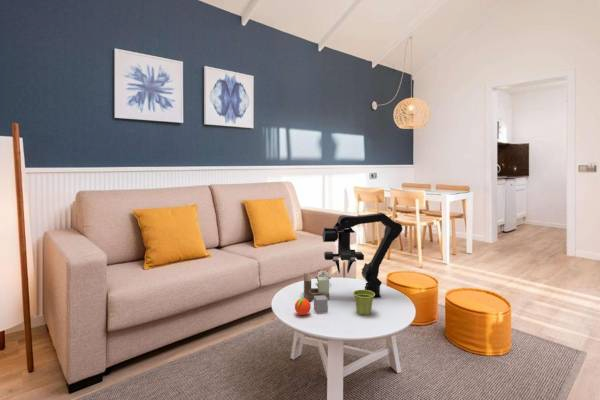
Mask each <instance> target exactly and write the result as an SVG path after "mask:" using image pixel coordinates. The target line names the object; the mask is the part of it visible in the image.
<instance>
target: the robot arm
mask: <svg viewBox="0 0 600 400" xmlns="http://www.w3.org/2000/svg"><path fill="white" fill-rule="evenodd" d="M379 222H380V223H381V224H382V225H383V226H385V228H384V233H383V234H384V235H383V237H382V240H381V241H380V243H379V245H378V247H377V249H376V251H375V253H374V255H373V257H372V259H371V260H370V262H369V263H366V262H365V263H364V265H363V267H362V268H361V276H362V277H363V279H364V280H365V286H364V290H369V291H372V292H374V293H375V296H374V298H373V299H376V298H381V297H382V295H380V293H381V286H382V281H381V280H380V279H379V278H378V276H379V273H380V272H379V271H380V266H381V264H382V263H383V260H384V259H385V257H386V255H387V253H388V250H389V249H390V247H391V245H392V243H393V242H394V241H395V239H397V238H398V237H399V236H400V234H401V233H402V231H403V226H402V224H401V223H399V222H397V221H395V220H393V219H391V218H390V217H389V216H388V215H387V214H386V213H383V212H378V213H377V212H376V213H369V214H362V215H349V214H343V215H340V216H339V217H338V218H337V221H336V223H335V224H334V225H333V227H323V230H322V231H323V232H322V235H321V236H322V237H321V238H322V242H323V243H335V242H337V253H333V251H325V252H324V253H323V258H324V260H326V261H332V262H334V263H335V266H336V269H337V272H338V274H340V273H341V269H340V267H341V266H340V261H347V265H346V266H347V267H346V273H347V274H349V272H350V270H351V268H352V265H353V264H354V262H355V263H356V262H357V261H364V260H365V255H364V253H363V252H362V251H356V249H351V233H353V234H354V233H355V230H354V229H353V228H354V227H355V226H357V225H364V224H370V223H371V224H372V223H379Z"/></svg>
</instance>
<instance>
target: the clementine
mask: <svg viewBox="0 0 600 400" xmlns="http://www.w3.org/2000/svg"><path fill="white" fill-rule="evenodd" d="M311 308H312V306H311V302H309V301H308V300H307V299H304V297H303V298H302V297H301V298H299V299H298V300H296V302H295V303H294V311H295V312H296V313H297V314H298V315H301V316H305V315H307V314H309V313H310V311H311Z"/></svg>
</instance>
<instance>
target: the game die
mask: <svg viewBox="0 0 600 400" xmlns="http://www.w3.org/2000/svg"><path fill="white" fill-rule="evenodd" d="M317 270H318V272H317V275H316V276H314V277H315V279H316V281H317V282H318V277H328V278H329V280H330V279H332V277H330V275H329V269H328V270H320V269H317Z"/></svg>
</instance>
